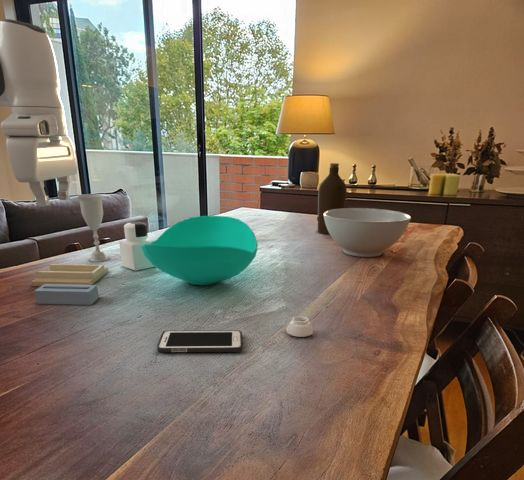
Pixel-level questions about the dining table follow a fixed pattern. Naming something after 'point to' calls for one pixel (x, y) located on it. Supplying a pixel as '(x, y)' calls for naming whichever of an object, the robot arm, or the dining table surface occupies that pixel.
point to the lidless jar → (299, 327)
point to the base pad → (70, 274)
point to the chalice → (93, 220)
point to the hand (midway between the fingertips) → (54, 202)
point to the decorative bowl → (365, 229)
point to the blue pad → (66, 294)
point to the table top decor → (203, 249)
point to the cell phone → (200, 341)
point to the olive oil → (330, 196)
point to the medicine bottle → (135, 246)
